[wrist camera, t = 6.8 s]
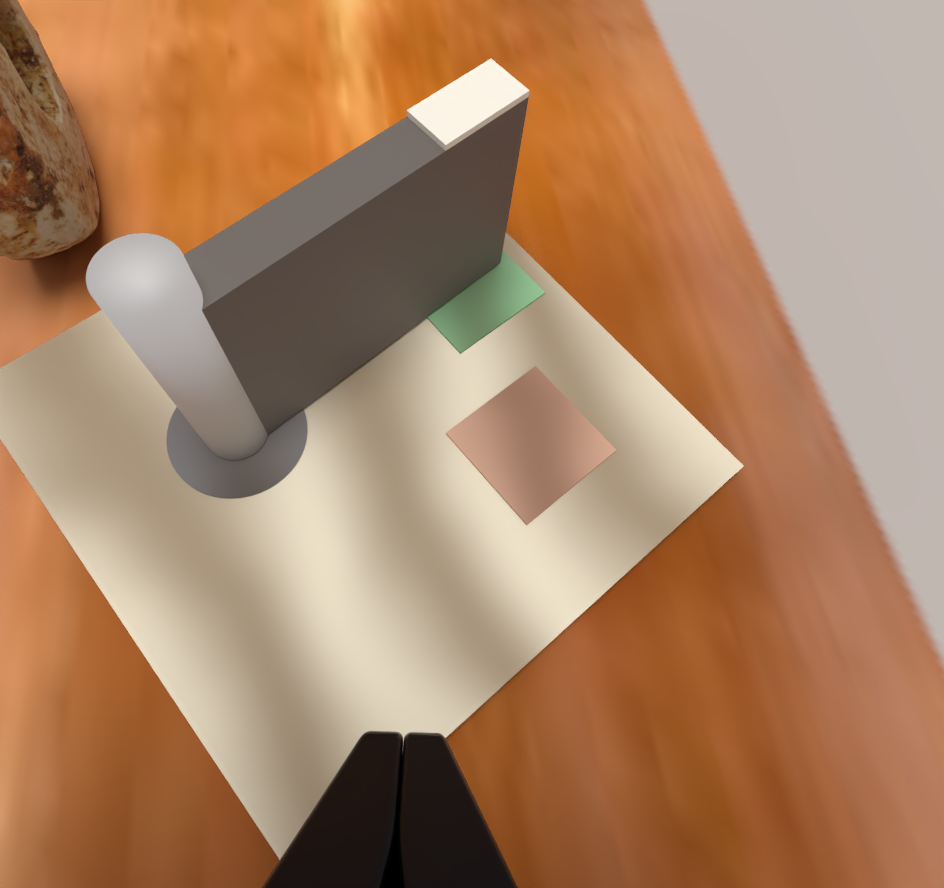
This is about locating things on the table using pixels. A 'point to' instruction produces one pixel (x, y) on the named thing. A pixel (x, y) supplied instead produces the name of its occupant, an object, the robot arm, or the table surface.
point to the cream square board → (362, 522)
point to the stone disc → (39, 150)
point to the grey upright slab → (321, 266)
